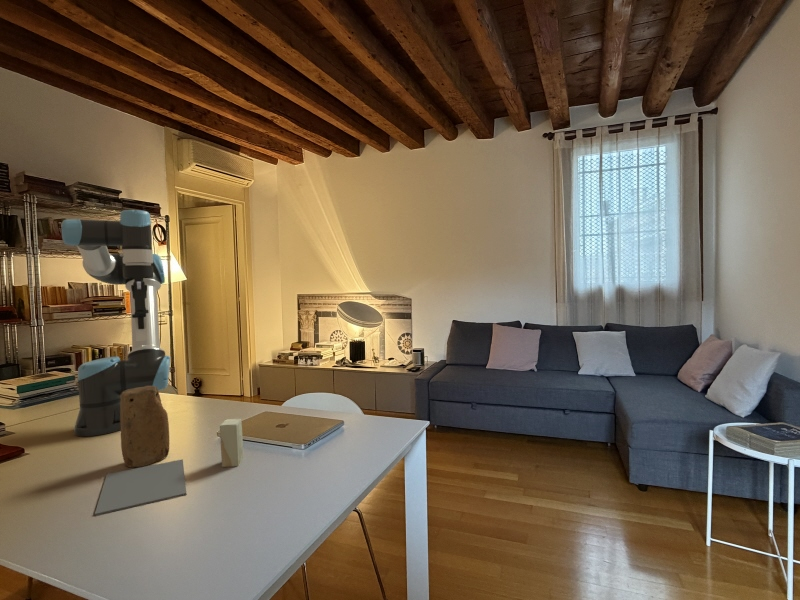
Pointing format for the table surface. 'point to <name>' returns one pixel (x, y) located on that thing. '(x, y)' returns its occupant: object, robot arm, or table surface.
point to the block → (143, 427)
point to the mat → (142, 486)
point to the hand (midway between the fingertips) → (142, 337)
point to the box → (231, 442)
